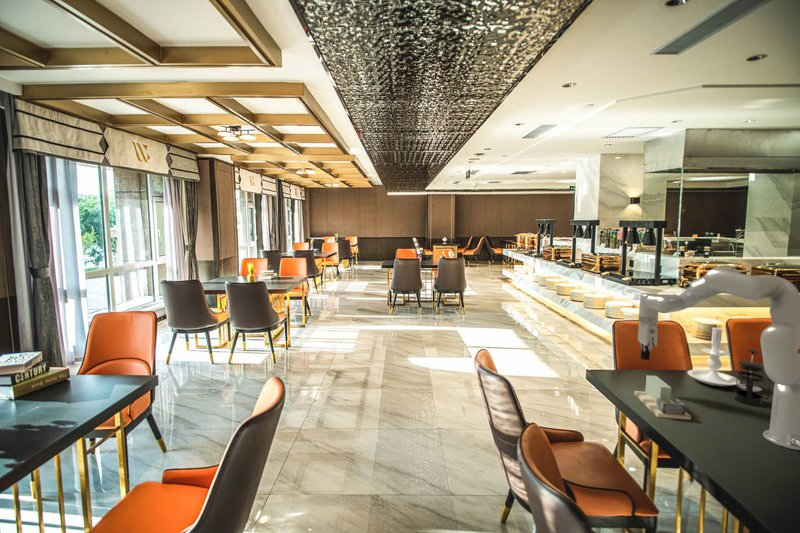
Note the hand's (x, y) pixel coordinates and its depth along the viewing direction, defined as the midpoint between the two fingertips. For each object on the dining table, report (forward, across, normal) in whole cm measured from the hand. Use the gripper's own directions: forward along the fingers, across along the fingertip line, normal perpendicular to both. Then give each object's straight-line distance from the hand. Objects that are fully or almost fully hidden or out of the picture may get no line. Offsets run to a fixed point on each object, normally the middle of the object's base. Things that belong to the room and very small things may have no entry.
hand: (644, 359), depth 189 cm
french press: (+15, -5, -41) cm, 44 cm away
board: (+15, -18, 0) cm, 23 cm away
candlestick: (+15, +19, -39) cm, 46 cm away
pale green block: (+13, -14, 0) cm, 19 cm away
